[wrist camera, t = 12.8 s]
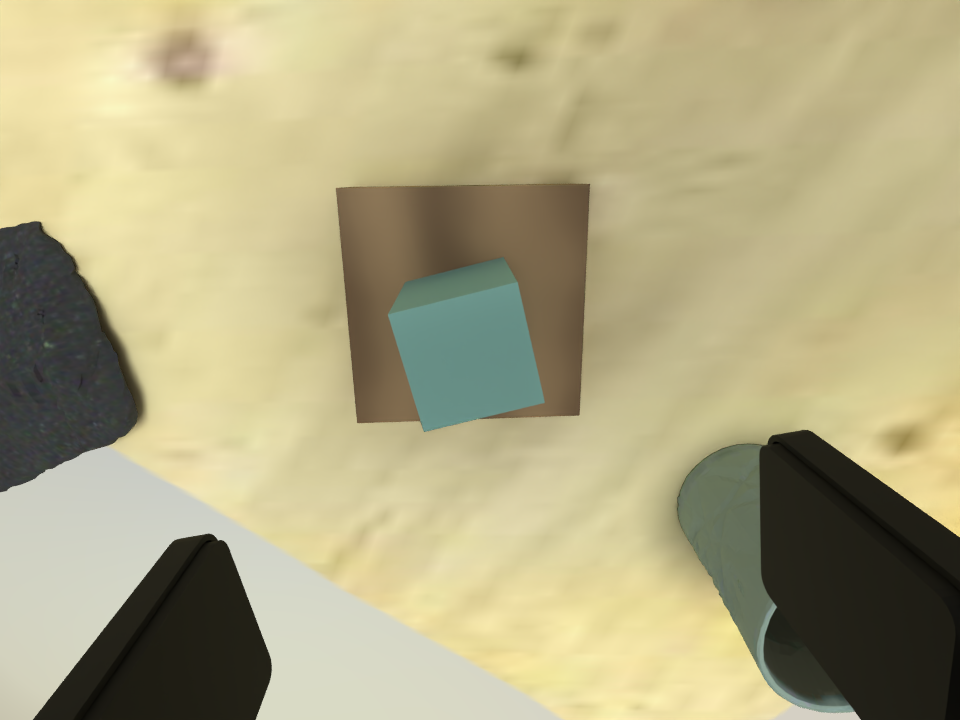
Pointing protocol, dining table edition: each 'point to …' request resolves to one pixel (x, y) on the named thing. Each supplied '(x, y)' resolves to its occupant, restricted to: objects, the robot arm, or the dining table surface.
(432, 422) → the teal block
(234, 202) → the dining table surface
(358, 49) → the dining table surface
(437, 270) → the walnut block
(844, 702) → the grey green cup
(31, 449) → the dark slate chunk
